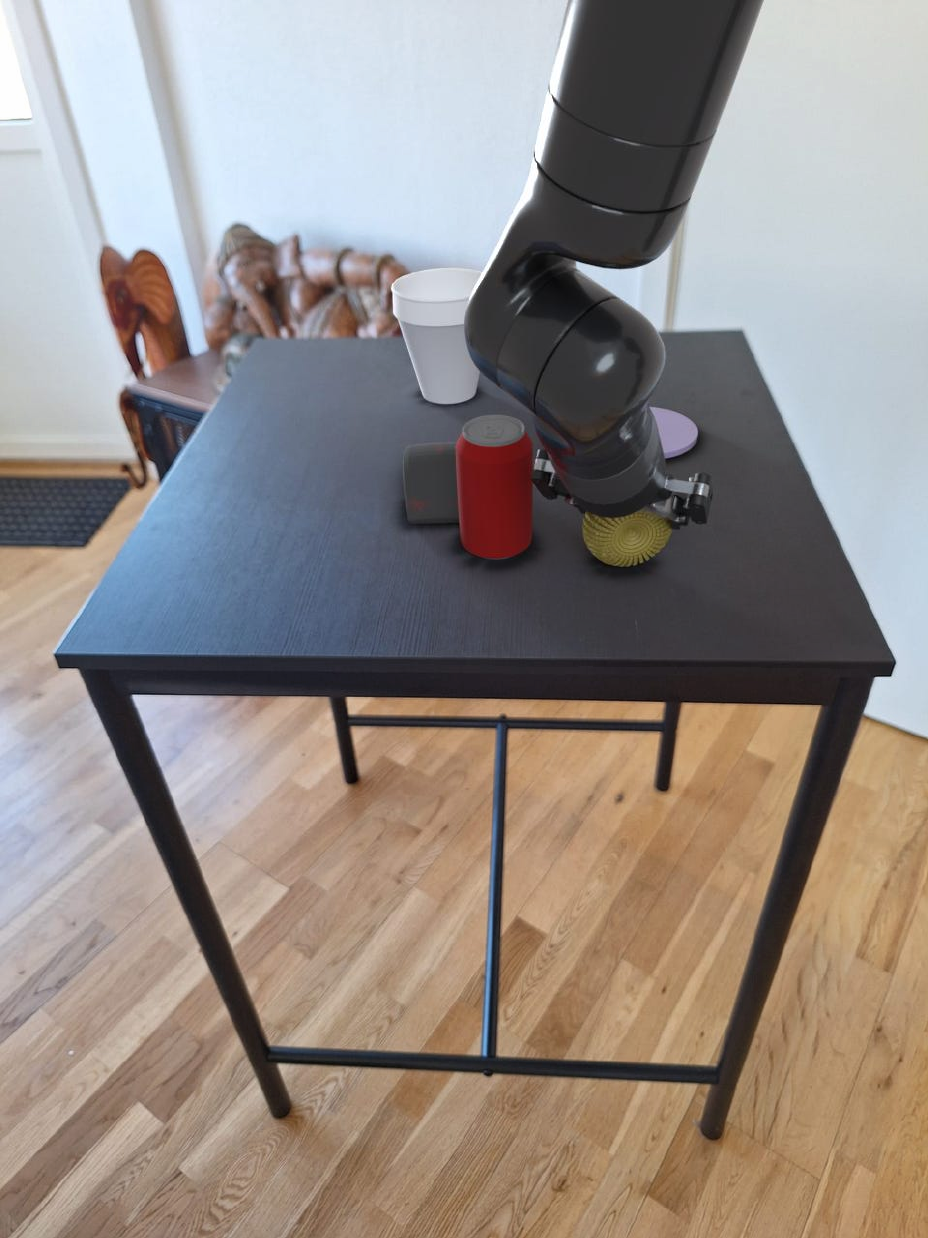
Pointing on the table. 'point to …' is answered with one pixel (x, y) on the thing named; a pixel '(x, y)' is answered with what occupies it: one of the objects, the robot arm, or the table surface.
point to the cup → (438, 330)
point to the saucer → (674, 431)
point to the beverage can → (495, 486)
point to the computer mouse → (431, 483)
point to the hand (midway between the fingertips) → (632, 510)
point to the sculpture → (625, 537)
